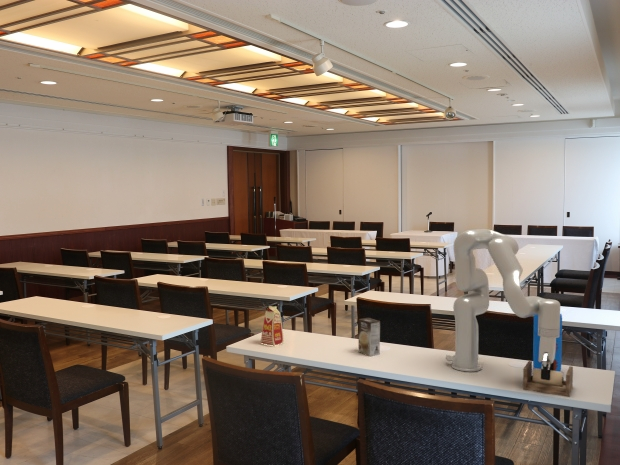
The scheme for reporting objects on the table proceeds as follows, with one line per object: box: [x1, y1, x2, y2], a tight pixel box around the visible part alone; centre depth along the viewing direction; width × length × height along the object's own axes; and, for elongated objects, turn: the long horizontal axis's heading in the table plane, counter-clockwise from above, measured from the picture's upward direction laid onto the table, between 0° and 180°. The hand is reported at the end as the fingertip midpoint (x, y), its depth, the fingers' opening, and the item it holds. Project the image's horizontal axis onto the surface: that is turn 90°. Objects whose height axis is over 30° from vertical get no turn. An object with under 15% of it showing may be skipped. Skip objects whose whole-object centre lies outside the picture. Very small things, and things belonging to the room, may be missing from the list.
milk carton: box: [260, 305, 284, 346], centre depth 280 cm, size 9×9×20 cm
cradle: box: [522, 360, 574, 398], centre depth 211 cm, size 16×12×8 cm
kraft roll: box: [532, 368, 565, 387], centre depth 212 cm, size 11×6×6 cm, turn 60°
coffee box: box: [357, 317, 381, 357], centre depth 261 cm, size 9×6×16 cm
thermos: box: [532, 313, 563, 372], centre depth 230 cm, size 11×11×25 cm
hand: (547, 375), depth 212 cm, fingers open, 9 cm apart
